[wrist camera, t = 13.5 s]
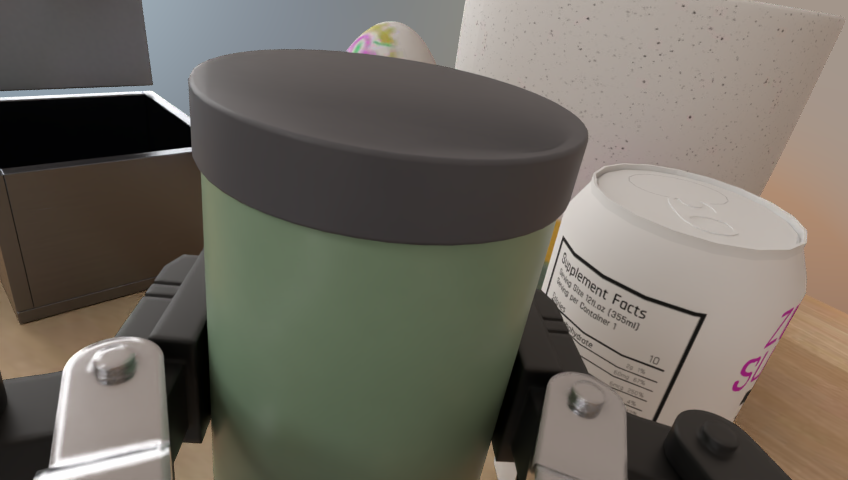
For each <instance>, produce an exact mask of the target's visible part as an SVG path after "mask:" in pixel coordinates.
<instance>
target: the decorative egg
mask: <svg viewBox="0 0 848 480" xmlns="http://www.w3.org/2000/svg"><path fill="white" fill-rule="evenodd" d="M346 52H353V53H362V54H371V55H379V56H387V57H394V58H400V59H407V60H413V61H418V62H424V63H429V64H434V65H436V63H435V60H434V58H433V56H432V54H431V52H430V51H429V49H428V47H427V46H426V44H425V42H424V41H423V40H422V38H421V37H420V36H419V35H418V34H417V33H416V32H415V31H414V30H413V29H411V28H410V27H408V26H407V25H404V24H402V23H399V22H393V21H389V22H383V23H379V24H377V25H375V26H373V27H371V28H369V29H368V30H366V31H365V32H364V33H363V34H361V35H360V36H359V37H358V38H357V39H356V40H355V41H354V42H353V44H352V45H351V46H350V47H349V48H348V50H347V51H346Z"/></svg>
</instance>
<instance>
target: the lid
mask: <svg viewBox="0 0 848 480" xmlns="http://www.w3.org/2000/svg"><path fill="white" fill-rule="evenodd" d="M145 85H153V81H152V74H151V67H150V60H149V53H148V45H147V37H146V30H145V22H144V15H143V8H142V0H0V91H14V90H40V89H66V88H94V87H120V86H145Z"/></svg>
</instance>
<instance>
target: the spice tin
mask: <svg viewBox="0 0 848 480" xmlns="http://www.w3.org/2000/svg"><path fill="white" fill-rule="evenodd" d="M188 84H189V104H190V125H191V145H192V157H193V159H194V161H195V163H196V165H197V167H198V169H199V170H200V172H201V187H202V211H203V235H204V259H205V283H206V307H207V330H208V354H209V378H210V402H211V426H212V450H213V474H214V480H480V476H481V473H482V469H483V466H484V463H485V459H486V456H487V453H488V449H489V446H490V443H491V439H492V436H493V432H494V429H495V426H496V422H497V419H498V416H499V412H500V409H501V405H502V402H503V399H504V395H505V392H506V389H507V385H508V382H509V378H510V375H511V372H512V368H513V365H514V362H515V358H516V355H517V352H518V348H519V345H520V341H521V338H522V335H523V331H524V328H525V325H526V321H527V318H528V314H529V311H530V308H531V304H532V301H533V298H534V294H535V291H536V288H537V284H538V281H539V277H540V274H541V271H542V267H543V264H544V261H545V257H546V254H547V250H548V247H549V244H550V240H551V237H552V234H553V230H554V227H555V224H556V220H557V219H558V218H559V217H560V216H561V215H562V214H563V213H564V212H565V210H566V208H567V206H568V204H569V202H570V199H571V196H572V193H573V189H574V186H575V183H576V180H577V176H578V173H579V170H580V166H581V163H582V160H583V157H584V153H585V150H586V147H587V143H588V130H587V128H586V126H585V124H584V123H583V122H582V121H581V120H580V119H579V118H578V117H577V116H576V115H574V114H573V113H572V112H570V111H569V110H567V109H566V108H564V107H562V106H561V105H559V104H557V103H555V102H553V101H551V100H549V99H547V98H545V97H543V96H541V95H538V94H536V93H533V92H531V91H528V90H526V89H523V88H520V87H518V86H515V85H512V84H508V83H505V82H502V81H499V80H496V79H492V78H489V77H485V76H482V75H478V74H474V73H470V72H466V71H462V70H458V69H453V68H448V67H444V66H439V65H434V64H429V63H424V62H418V61H413V60H407V59H400V58H394V57H387V56H379V55H371V54H362V53H353V52H341V51H326V50H305V49H281V50H280V49H278V50H258V51H247V52H239V53H233V54H228V55H224V56H220V57H216V58H213V59H209V60H207V61H205V62H203V63H201V64H199V65H198V66H197V67H195V68H194V69H193V70H192V72H191V74H190V76H189V78H188Z"/></svg>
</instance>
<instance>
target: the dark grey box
mask: <svg viewBox="0 0 848 480" xmlns="http://www.w3.org/2000/svg"><path fill="white" fill-rule="evenodd" d="M203 248H204V235H203V211H202V187H201V172H200V170H199V169H198V167H197V165H196V163H195V161H194V159H193V157H192V145H191V125H190V117H189V116H187V115H186V114H185V113H183V112H182V111H180V110H179V109H177V108H176V107H175V106H173V105H172V104H170V103H169V102H167V101H166V100H164V99H163V98H161V97H160V96H158V95H157V94H156V93H154V92H153V91H142V92H141V91H140V92H117V93H94V94H73V95H49V96H27V97H5V98H0V281H1V283H2V285H3V287H4V290H5V292H6V294H7V296H8V299H9V301H10V303H11V305H12V308H13V310H14V312H15V314H16V317H17V319H18V321H19V323H20V324H23V323H26V322H30V321H34V320H37V319H41V318H45V317H48V316H52V315H56V314H59V313H63V312H67V311H70V310H74V309H78V308H81V307H85V306H89V305H92V304H96V303H100V302H103V301H107V300H111V299H114V298H118V297H122V296H125V295H129V294H133V293H136V292H140V291H144V290H147V289H149V287H150V286H151V285H152V284H154V280H155V279H156V277H157V276H158V275H159V273H160V272H161V270H162V269H163V268H164V266H165V265H167V264H169V263H170V262H172V261H174V260H175V259H177V258H178V257H180V256H182V255H183V254H188V255H198V256H199V255H200V253H201V251H202V250H203Z"/></svg>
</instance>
